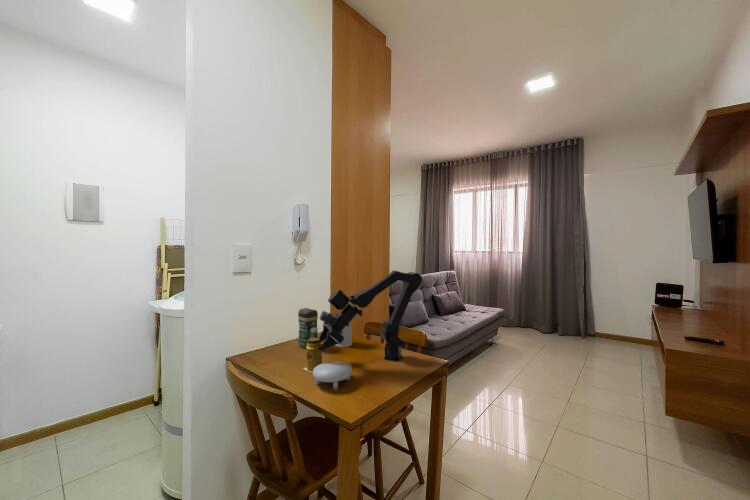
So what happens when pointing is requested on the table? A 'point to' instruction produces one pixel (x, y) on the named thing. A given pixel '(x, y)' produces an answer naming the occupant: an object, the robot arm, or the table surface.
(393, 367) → the table surface
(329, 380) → the round white stand
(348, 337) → the glass holder
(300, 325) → the coffee jar
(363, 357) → the table surface
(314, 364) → the condiment
